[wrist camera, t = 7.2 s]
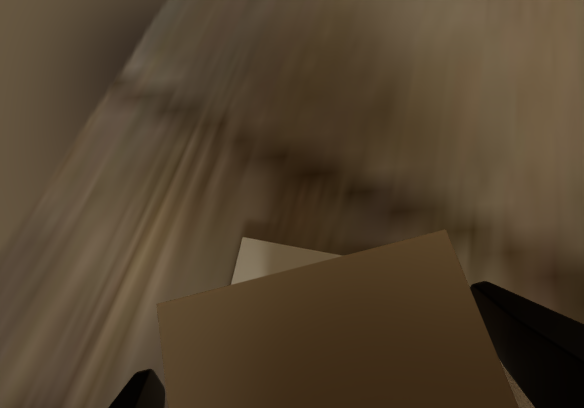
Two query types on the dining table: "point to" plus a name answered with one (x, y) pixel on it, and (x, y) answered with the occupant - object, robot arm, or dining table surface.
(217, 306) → the oak block
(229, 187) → the dining table surface
